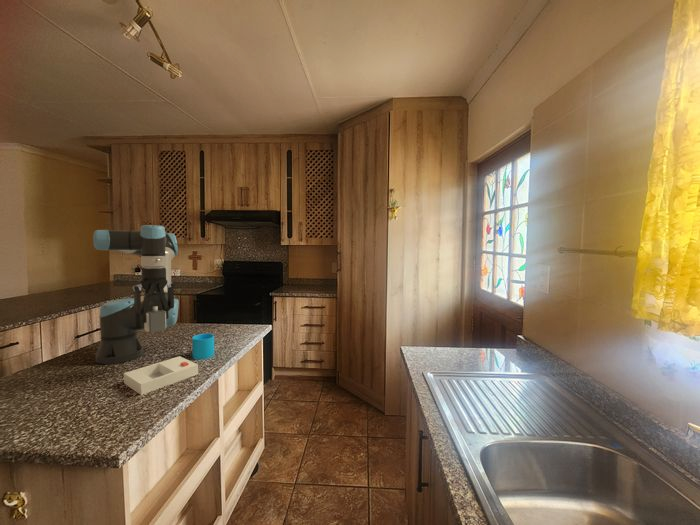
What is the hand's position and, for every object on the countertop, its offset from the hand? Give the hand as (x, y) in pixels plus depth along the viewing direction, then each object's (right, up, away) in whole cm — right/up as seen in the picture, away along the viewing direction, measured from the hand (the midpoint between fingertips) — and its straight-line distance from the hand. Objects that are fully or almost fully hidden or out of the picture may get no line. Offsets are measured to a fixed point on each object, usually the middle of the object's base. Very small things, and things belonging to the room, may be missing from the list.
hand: (155, 329), depth 109 cm
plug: (0, 0, 0) cm, 0 cm away
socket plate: (+7, -16, -7) cm, 19 cm away
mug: (+11, -14, +15) cm, 24 cm away
